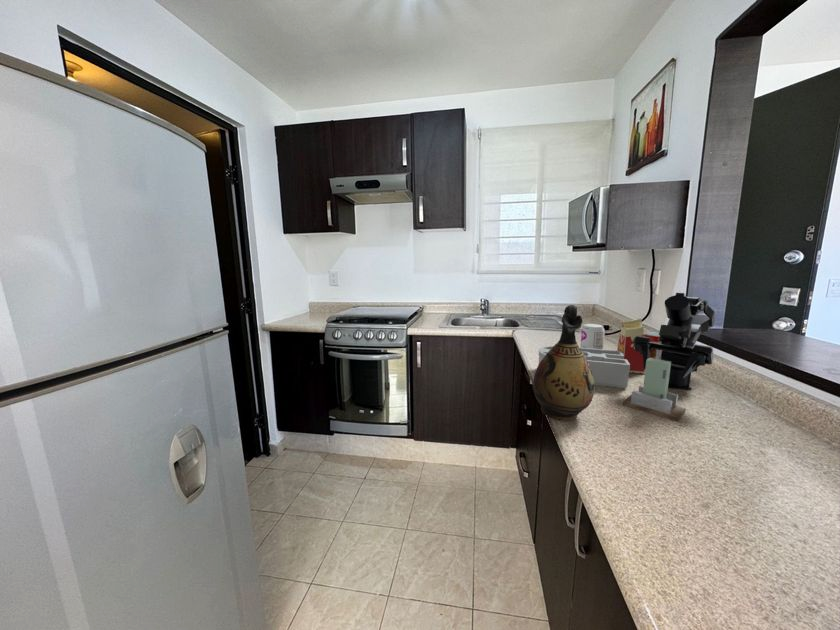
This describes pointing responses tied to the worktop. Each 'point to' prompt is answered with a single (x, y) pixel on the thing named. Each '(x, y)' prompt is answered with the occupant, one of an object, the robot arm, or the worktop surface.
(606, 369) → the gray compartment organizer
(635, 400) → the slotted panel holder
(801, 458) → the worktop surface
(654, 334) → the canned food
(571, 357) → the ceramic jug
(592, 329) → the supplement can
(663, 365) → the door panel
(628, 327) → the milk carton
